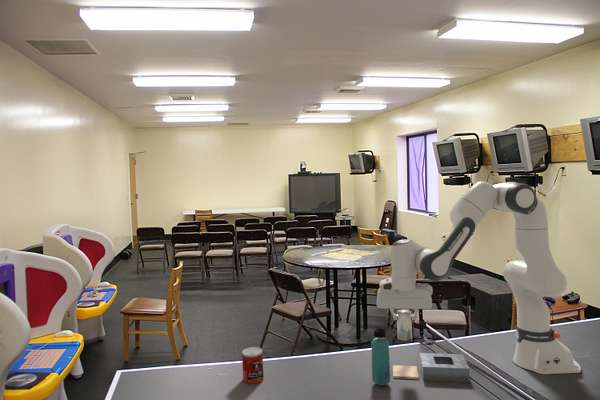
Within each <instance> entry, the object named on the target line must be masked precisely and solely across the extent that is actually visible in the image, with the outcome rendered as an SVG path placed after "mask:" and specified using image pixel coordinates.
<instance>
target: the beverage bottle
mask: <svg viewBox="0 0 600 400" xmlns="http://www.w3.org/2000/svg"><path fill="white" fill-rule="evenodd" d="M373 337H374V338H373V339H372V340H371V341H370V344H371V346H370V347H371V378H372V381H373V383H374V384H376V385H380V386H381V385H382V386H384V385H387V384H389V383H390V382H391V365H390V364H391V362H390V357H391V356H390V342H389V340H387V339H386V338H385V337H386V330H385V329H384V328H375V329H374V331H373Z"/></svg>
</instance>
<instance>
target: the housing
mask: <svg viewBox="0 0 600 400" xmlns="http://www.w3.org/2000/svg"><path fill="white" fill-rule="evenodd" d="M419 368H420V372H421V376H422V380H423V381H432V382H433V381H435V382H436V381H437V382H456V383H470V380H471V378H470V373H471V372H470V367H469V365H468V362H467V360H466V358H465V356H464V354H460V353H459V354H456V353H455V354H454V353H431V352H430V353H428V352H427V353H426V352H419Z"/></svg>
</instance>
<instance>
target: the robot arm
mask: <svg viewBox="0 0 600 400" xmlns="http://www.w3.org/2000/svg"><path fill="white" fill-rule="evenodd" d="M491 210H498V211H501V212H507V213H509V212H511V213H512V214H513V217H514V233H515V234H514V237H515V238H514V239H515V247H516V250H517V251H518V252H519V254H521V256H522V258H523V260H521V259H520V260H519V259H517V260H510V261H508V262H507V263H506V264H505V265H504V268H503V270H502V271H503V272H502V273H503V274H502V275H503V278H504V280H505V281H506V282H507V284H508V285H509V287H510V288H511V292H512V294H513V297H514V300H515V307H516V317H517V319H516V320H517V321H516V323H517V324H516V325H515V340H516V344H515V351H514V355H513V357H512V361H513V363H514V364H515V365H517V367H520V368H523V369H524V370H525V369H526V370H528V371H533V372H535V373H537V374H540V375H555V374H557V375H558V374H559V375H560V374H561V375H562V374H578V373H582V368H581V366H580V364H579V363H578V362H577V361H576V360H575V359H574V356H573V354H572V351H571V349H569V348H568V347H567V346H566V345H565V344H564V343H563V342H561V341H559V339H560V338H561V333H560V332H558V331H556V330H554V329H553V328H551V310H550V308H549V306H548V304H547V303H546V302H545V300H544V299H543V297H547V298H549V297H550V298H559V297H560V296H562V295H563V294H564V293H565V292H566V289H567V286H568V285H567V284H568V281H567V278H566V276H565V274H564V273H563V272H562V271H561V270H560V269H559V268H558V266H557V264H556V262H555V260H554V258H553V256H552V252H551V248H550V242H549V241H550V239H549V224H548V222H549V221H548V216H547V211H546V207H545V204H544V202H543V201H542V200H540V199H538V198H537V194H536V192H535V189H534V188H533V187H531V186H530V185H529V184H526V183H523V182H515V181H507V182H495V183H493V184H491V183H490V182H487V181H483V180H482V181H478V182H476V183H474V184H473V185H472V186H470V188H468V190H466V191H465V192H464V193H463V194H462V195H461V196H460V197H459V198H458V199H457V201H456V202H455V203H454V205H453V206H452V207H451V210H450V212H449V216H450V217H449V218H450V220H451V221H450V222H451V223H452V229H451V231H450V232H449V234H448V236H447V237H446V238H445V239H444V241H443V243H442V244H441V245H440V247H438V248H437V249H433V248H430V247H427V246H424V245H421V244H419V243H417V242H415V241H414V240H412V239H410V238H409V239H408V238H406V239H399V240H396V241H395V242H393V243H392V245H391V250H390V266H391V275H390V277H387V278H385V279H382V280H380V281H379V288H378V290H377V292H376V293H377V295H376V307H377V308H378V309H389V311H390V314H391V315H392V320H393V321H397V313H395V309H398V310H410V309H411V310H414V312H413V313H412V314H411V320H412V321H416V320H417V318H416V316H417V315H418V313H419V310H431V309H432V308H433V299H432V295H433V293H434V292H433V291H434V290H433V286H432V285H431V284H429V283H427V282H426V283H419V282H416V281H417V279H416V277H417V275H416V274H419V273H421V274H422V275H423V276H424V277H425V278H426V279H428V280H430V281H433V282H438V281H442V280H444V279H445V278H447V277H448V276H449V274H450V272H451V270H452V266H453V264H454V261H455V260H456V258H457V257H458V255H459V254H460V252H461V251H462V250H463V248H465V245H466V244H467V243H468V242H469V240H470V239H471V238H472V236H473V234H474V232H475V230H476V228H477V227H478V225H479V224H480V223H481V222H482V221H483V219H484V218H485V217H487V215H488V213H489V212H490V211H491ZM542 296H543V297H542Z"/></svg>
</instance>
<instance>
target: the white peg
mask: <svg viewBox="0 0 600 400" xmlns="http://www.w3.org/2000/svg"><path fill="white" fill-rule="evenodd" d="M396 314H397V320H396V324H397V325H396V328H397V330H396V331H397V339H398V340H400V341H405V342H407V341H411V340H412V339H413V335H412V334H413V333H412V332H413V331H412V330H413V329H412V328H413V326H412V324H413V323H412V321H413V320H411V315H412V311H411V310H410V309H398V310H396Z"/></svg>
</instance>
